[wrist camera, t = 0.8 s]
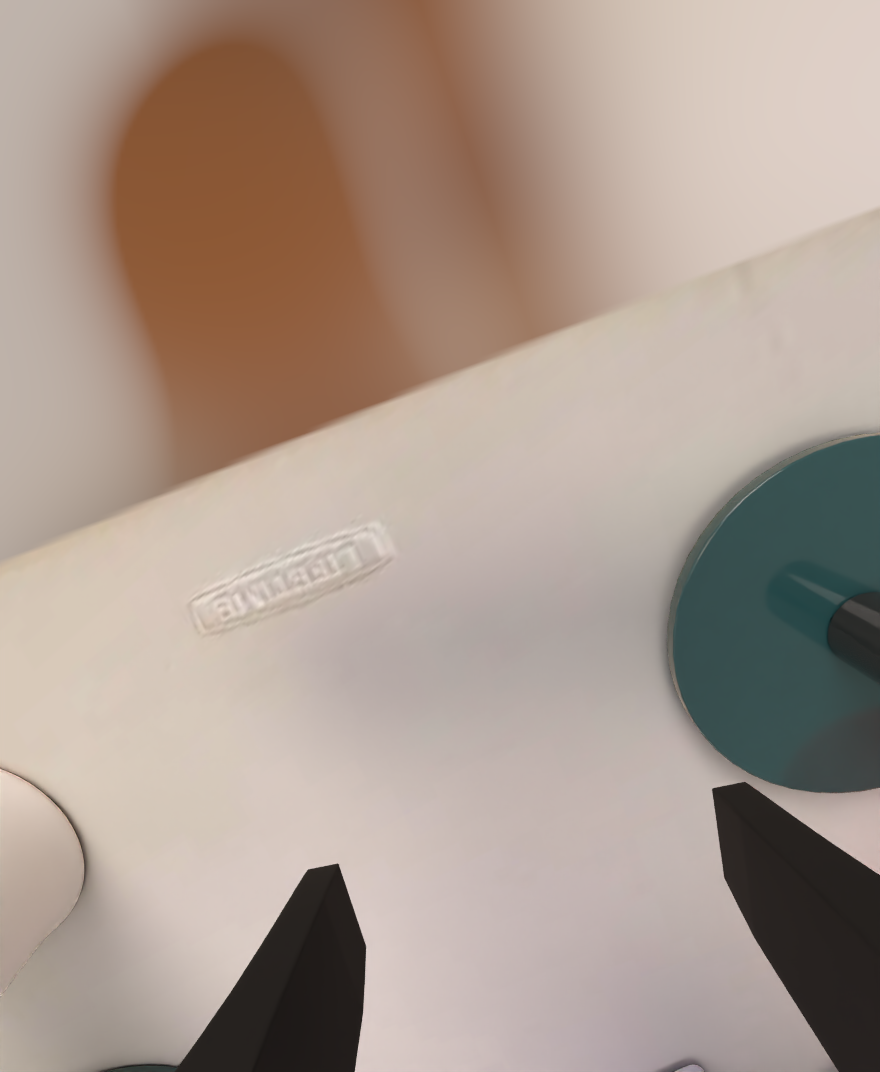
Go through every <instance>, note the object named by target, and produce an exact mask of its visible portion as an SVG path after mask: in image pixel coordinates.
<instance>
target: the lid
mask: <svg viewBox="0 0 880 1072" xmlns="http://www.w3.org/2000/svg"><path fill="white" fill-rule="evenodd" d="M667 651H668V658H669V666H670V672H671V675H672V679H673V682H674V686H675V689H676V692H677V694H678V696H679V698H680V700H681V703H682V705H683V707H684V709H685V711H686V712H687V714H688V715H689V717H690V718H691V720H692V721H693V723H694V724H695V726H696V727H697V729H698V730H699V731H700V732H701V734H702V735H703V736H704V737H705V738H706V739H707V740H708V741H709V743H710V744H711V745H712V746H713V747H714V748H715V749H716V750H717V751H718V752H719V753H721V754H722V755H723V756H724V757H725V758H727V759H728V760H729V761H730V762H732V763H733V764H735V765H736V766H738V767H740V768H741V769H743V770H745V771H746V772H748V773H750V774H752V775H754V776H756V777H759V778H761V779H763V780H765V781H768V782H770V783H773V784H777V785H780V786H784V787H787V788H791V789H796V790H802V791H809V792H818V793H847V792H860V791H866V790H871V789H876V788H880V433H872V434H860V435H855V436H851V437H846V438H841V439H837V440H832V441H830V442H827V443H824V444H821V445H818V446H815V447H812V448H809V449H806V450H804V451H802V452H800V453H798V454H796V455H794V456H792V457H790V458H788V459H786V460H784V461H782V462H780V463H778V464H777V465H775V466H774V467H772V468H771V469H769V470H767V471H766V472H764V473H763V474H761V475H760V476H758V477H757V478H755V479H754V480H753V481H752V482H750V483H749V484H748V485H747V486H746V487H744V488H743V489H742V490H741V491H739V492H738V493H737V494H736V495H735V496H734V497H733V498H732V499H731V500H730V501H729V502H728V503H727V504H726V505H725V506H724V507H723V508H722V509H721V510H720V511H719V512H718V513H717V514H716V516H715V517H714V518H713V520H712V521H711V522H710V523H709V525H708V526H707V527H706V529H705V530H704V531H703V533H702V534H701V535H700V537H699V539H698V540H697V542H696V544H695V545H694V547H693V549H692V550H691V552H690V554H689V555H688V557H687V560H686V562H685V564H684V566H683V569H682V571H681V573H680V576H679V578H678V580H677V584H676V587H675V591H674V594H673V597H672V601H671V606H670V612H669V619H668V626H667Z"/></svg>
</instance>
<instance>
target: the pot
mask: <svg viewBox="0 0 880 1072" xmlns="http://www.w3.org/2000/svg"><path fill="white" fill-rule="evenodd" d="M177 1068H178V1067H170V1066H155V1065H144V1066H130V1067H124V1068H118V1069H113V1070H109V1071H106V1072H175V1070H176V1069H177Z"/></svg>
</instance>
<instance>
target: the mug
mask: <svg viewBox="0 0 880 1072" xmlns="http://www.w3.org/2000/svg"><path fill="white" fill-rule="evenodd" d="M83 880H84V859H83V853H82V849H81V846H80V843H79V840H78V837H77V835H76V833H75V831H74V829H73V827H72V825H71V824H70V822H69V821H68V819H67V818H66V816H65V815H64V814H63V812H62V811H61V810H60V809H59V808H58V807H57V805H56V804H55V803H54V802H53V801H52V800H51V799H49V798H48V797H47V796H46V795H45V794H44V793H43V792H41V791H40V790H39V789H37V788H36V787H34V786H33V785H32V784H30V783H28V782H27V781H25V780H23V779H22V778H20V777H18V776H16V775H14V774H12V773H9V772H7V771H5V770H2V769H0V997H1V996H2V994H3V993H4V992H5V990H6V989H7V988H8V986H9V985H10V984H11V982H12V981H13V979H14V978H15V977H16V975H17V974H18V973H19V971H20V970H21V969H22V967H23V966H24V965H25V963H26V962H27V961H28V959H29V958H30V957H31V955H32V954H33V953H34V951H35V950H36V949H37V948H38V946H39V945H40V944H41V943H42V942H43V940H44V939H45V938H46V937H47V936H48V935H49V934H50V933H51V932H52V931H54V930H55V929H56V928H57V927H58V926H59V925H60V924H61V923H62V922H63V921H64V920H65V919H66V917H67V916H68V915H69V913H70V912H71V911H72V909H73V907H74V906H75V904H76V902H77V900H78V898H79V895H80V892H81V889H82V885H83Z"/></svg>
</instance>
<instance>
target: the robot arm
mask: <svg viewBox="0 0 880 1072" xmlns="http://www.w3.org/2000/svg"><path fill="white" fill-rule="evenodd" d="M712 791H713V799H714V806H715V813H716V820H717V828H718V835H719V842H720V850H721V857H722V864H723V872H724V878H725V880H726V882H727V884H728V886H729V888H730V890H731V892H732V894H733V896H734V898H735V900H736V902H737V904H738V906H739V908H740V910H741V912H742V914H743V916H744V918H745V920H746V922H747V924H748V926H749V928H750V930H751V932H752V934H753V936H754V938H755V939H756V941H757V943H758V944H759V946H760V947H761V949H762V951H763V952H764V954H765V956H766V957H767V959H768V960H769V962H770V963H771V965H772V967H773V968H774V970H775V971H776V973H777V975H778V976H779V978H780V979H781V981H782V983H783V984H784V986H785V987H786V989H787V991H788V992H789V994H790V995H791V997H792V999H793V1000H794V1002H795V1003H796V1005H797V1006H798V1008H799V1010H800V1011H801V1013H802V1014H803V1016H804V1017H805V1019H806V1021H807V1022H808V1024H809V1025H810V1027H811V1029H812V1030H813V1032H814V1033H815V1035H816V1036H817V1038H818V1040H819V1041H820V1043H821V1044H822V1046H823V1047H824V1049H825V1051H826V1052H827V1054H828V1055H829V1057H830V1059H831V1060H832V1062H833V1063H834V1065H835V1066H836V1068H837V1070H838V1071H839V1072H880V875H879V874H877V873H876V872H874V871H873V870H871V869H870V868H868V867H867V866H865V865H864V864H862V863H861V862H859V861H858V860H856V859H855V858H853V857H852V856H850V855H849V854H847V853H846V852H844V851H843V850H841V849H840V848H838V847H837V846H835V845H834V844H832V843H831V842H829V841H828V840H826V839H825V838H824V837H822V836H821V835H819V834H818V833H816V832H815V831H814V830H812V829H811V828H809V827H808V826H806V825H805V824H804V823H802V822H801V821H799V820H798V819H797V818H795V817H794V816H792V815H791V814H790V813H788V812H787V811H785V810H784V809H783V808H781V807H780V806H778V805H777V804H776V803H774V802H773V801H771V800H770V799H769V798H767V797H766V796H764V795H763V794H762V793H760V792H759V791H758V790H756V789H755V788H753V787H752V786H750V785H749V784H747V783H746V782H742V783H737V784H732V785H727V786H722V787H717V788H713V789H712ZM365 961H366V945H365V942H364V939H363V936H362V933H361V930H360V927H359V924H358V921H357V918H356V915H355V912H354V909H353V906H352V903H351V900H350V897H349V894H348V891H347V888H346V885H345V882H344V879H343V876H342V873H341V870H340V867H339V864H334V865H329V866H324V867H319V868H314V869H309V870H307V872H306V873H305V875H304V876H303V878H302V880H301V881H300V883H299V884H298V886H297V888H296V889H295V891H294V892H293V894H292V896H291V897H290V899H289V901H288V902H287V904H286V905H285V907H284V909H283V910H282V912H281V914H280V915H279V917H278V919H277V920H276V922H275V923H274V925H273V927H272V928H271V930H270V932H269V933H268V935H267V936H266V938H265V940H264V941H263V943H262V944H261V946H260V948H259V949H258V951H257V952H256V954H255V955H254V957H253V959H252V960H251V962H250V963H249V965H248V966H247V968H246V969H245V971H244V973H243V974H242V976H241V977H240V979H239V980H238V982H237V983H236V985H235V986H234V988H233V990H232V991H231V993H230V994H229V996H228V997H227V998H226V1000H225V1001H224V1003H223V1004H222V1006H221V1007H220V1008H219V1010H218V1011H217V1013H216V1014H215V1016H214V1017H213V1019H212V1020H211V1021H210V1023H209V1024H208V1026H207V1027H206V1029H205V1030H204V1032H203V1033H202V1034H201V1036H200V1037H199V1039H198V1040H197V1042H196V1043H195V1044H194V1046H193V1047H192V1049H191V1050H190V1051H189V1053H188V1054H187V1055H186V1057H185V1058H184V1059H183V1061H182V1062H181V1064H180V1065H179V1066H178V1068H177V1069H176V1070H175V1072H355V1065H356V1058H357V1051H358V1044H359V1037H360V1030H361V1023H362V1015H363V1003H364V985H365ZM674 1072H705V1071H704V1070H703V1069H702V1068H701V1067H700V1066H698V1065H688V1066H685V1067H683V1068H681V1069H678V1070H676V1071H674Z"/></svg>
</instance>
